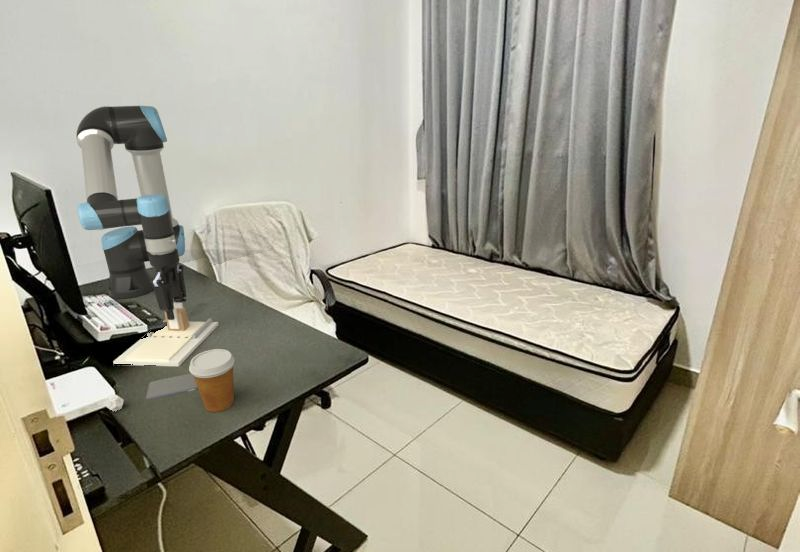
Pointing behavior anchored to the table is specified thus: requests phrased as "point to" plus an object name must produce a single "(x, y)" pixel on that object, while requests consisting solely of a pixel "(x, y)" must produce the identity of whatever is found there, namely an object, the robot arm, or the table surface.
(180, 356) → the ticket board
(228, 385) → the disposable coffee cup
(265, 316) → the table surface
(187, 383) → the smartphone
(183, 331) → the tabbed cream panel
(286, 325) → the table surface
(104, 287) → the table surface
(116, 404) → the game die
